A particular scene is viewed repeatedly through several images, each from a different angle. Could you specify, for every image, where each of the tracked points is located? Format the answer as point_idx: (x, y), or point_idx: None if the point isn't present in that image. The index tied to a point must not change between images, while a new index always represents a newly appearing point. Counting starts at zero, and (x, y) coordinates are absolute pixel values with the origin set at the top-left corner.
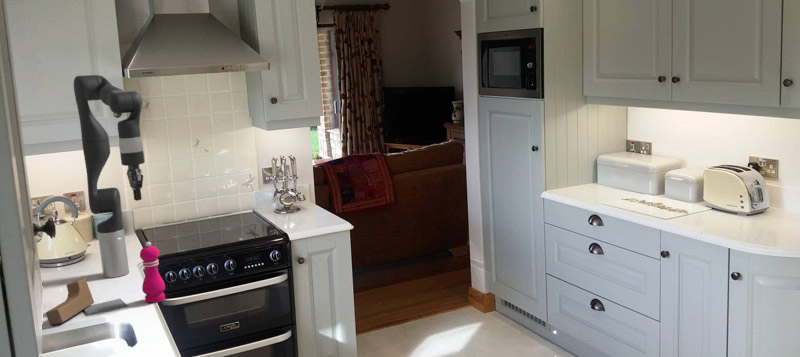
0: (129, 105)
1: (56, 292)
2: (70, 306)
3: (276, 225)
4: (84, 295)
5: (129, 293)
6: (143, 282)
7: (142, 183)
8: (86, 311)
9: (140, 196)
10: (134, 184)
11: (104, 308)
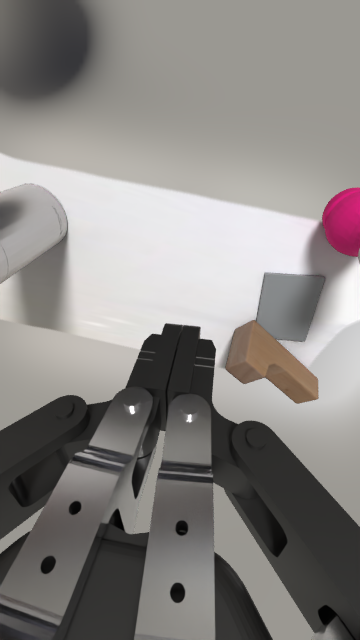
0: None
1: (107, 333)
2: (298, 374)
3: None
4: (266, 349)
5: (229, 242)
6: (355, 256)
7: (333, 498)
8: (288, 339)
9: (214, 354)
10: (260, 524)
11: (303, 314)
